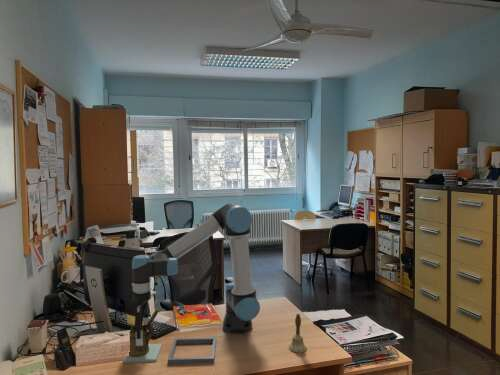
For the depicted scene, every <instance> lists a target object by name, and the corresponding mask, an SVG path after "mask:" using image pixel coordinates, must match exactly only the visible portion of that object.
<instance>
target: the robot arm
mask: <svg viewBox="0 0 500 375" xmlns="http://www.w3.org/2000/svg"><path fill="white" fill-rule="evenodd" d="M252 222H253V217H252V214H251V212H250V211H249V209H248V208H247V207H245V206H243V205H241V204H237V203H234V202H230V203H226V204H224V205H223V206H222V207H220V208H219V209H217V210H216V211H215V212H213V213H211V214H210V216H209V218H208V219H206V220H205V221H203V222H202V223H200V224H199V225H198V226H196V227H194V229H192V230H190V231H189V232H187V233H186V234H184V235H183V236H182V237H180V238H178V239H177V240H176V241H174V242H172V243H171V244H170V245H169V246H167V247H165V248H164V249H163V250H158V251H156V252H155V253H154V255H153V259H151V258H150V255H148V254H138V255H135V256H133V258H132V259H131V273H132V274H131V278H132V283H131V287H132V301H133V302H135V303H137V304H136V307H134V311H135V312H134V313H135V315H134V317H135V318H134V325H135V326H134V325H133V326H134V330H133V331H134V332H136V346H143V332H142V325H143V326H144V325H145V324H148V321H149V319H150V318H151V316H152V315H151V311H150V310H151V309H150V302H149V301H150V300H151V298H152V297H151V296H152V294H151V289H152V288H151V278H155V277H156V278H157V277H166V276H169V277H170V276H174V275H177V274H178V272H179V271H178V270H179V266H178V265H179V264H178V259H180V258H181V257H182V256H184V255H186V254H187V253H188V252H190V251H191V250H193V249H194V248H196V247H197V246H199V245H200V244H202V243H203V242H204V241H206V240H207V239H209V238H210V237H211V236H213V235H215V234H216V233H218V232H219V231H220V232H222V231H224V232H225V236H226V237H227V238H229V247H230V256H231V257H230V258H231V259H230V260H231V270H232V279H233V281H232V282H228V283H227V284H226V285H225V315H224V318H223V321H222V329H223V330H224V331H225V332H227V333H229V334H230V333H231V334H243V333H244V334H245V333H248V332H249V331H251V330H252V329H253V321H252V320H254V319H255V318H256V317H257V316H258V315H259V313H260V311H261V304H260V302H259V300H258V299H257V289H256V287H255V286H254V285H253V281H252V280H253V279H252V271H251V269H252V268H251V261H250V248H249V235H250V234H251V226H252ZM146 331H147V333H149V330H146Z"/></svg>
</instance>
